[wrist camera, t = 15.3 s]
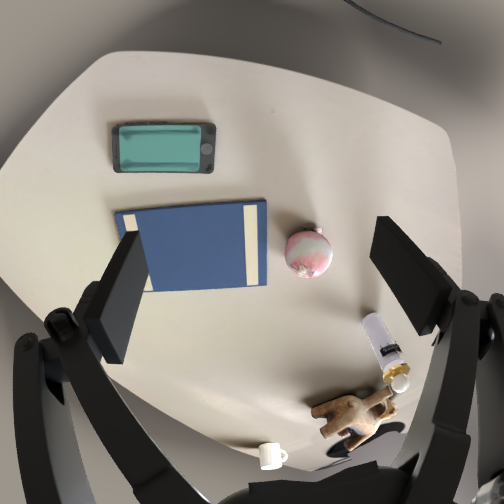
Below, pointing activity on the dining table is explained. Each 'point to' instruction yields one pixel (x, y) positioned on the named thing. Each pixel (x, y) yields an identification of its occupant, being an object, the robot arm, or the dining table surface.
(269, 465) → the mug
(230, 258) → the towel
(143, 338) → the dining table surface
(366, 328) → the perfume bottle
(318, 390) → the dining table surface
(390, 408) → the ceramic vessel
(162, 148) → the smartphone
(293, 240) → the onion
